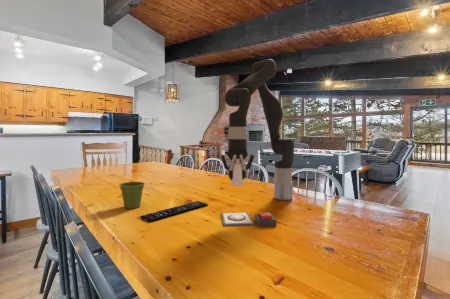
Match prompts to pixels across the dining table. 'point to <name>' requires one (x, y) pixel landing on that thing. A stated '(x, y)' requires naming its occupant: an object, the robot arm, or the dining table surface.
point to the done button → (265, 215)
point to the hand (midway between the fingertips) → (237, 179)
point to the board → (236, 219)
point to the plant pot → (132, 194)
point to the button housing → (265, 221)
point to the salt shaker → (237, 174)
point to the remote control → (173, 211)
